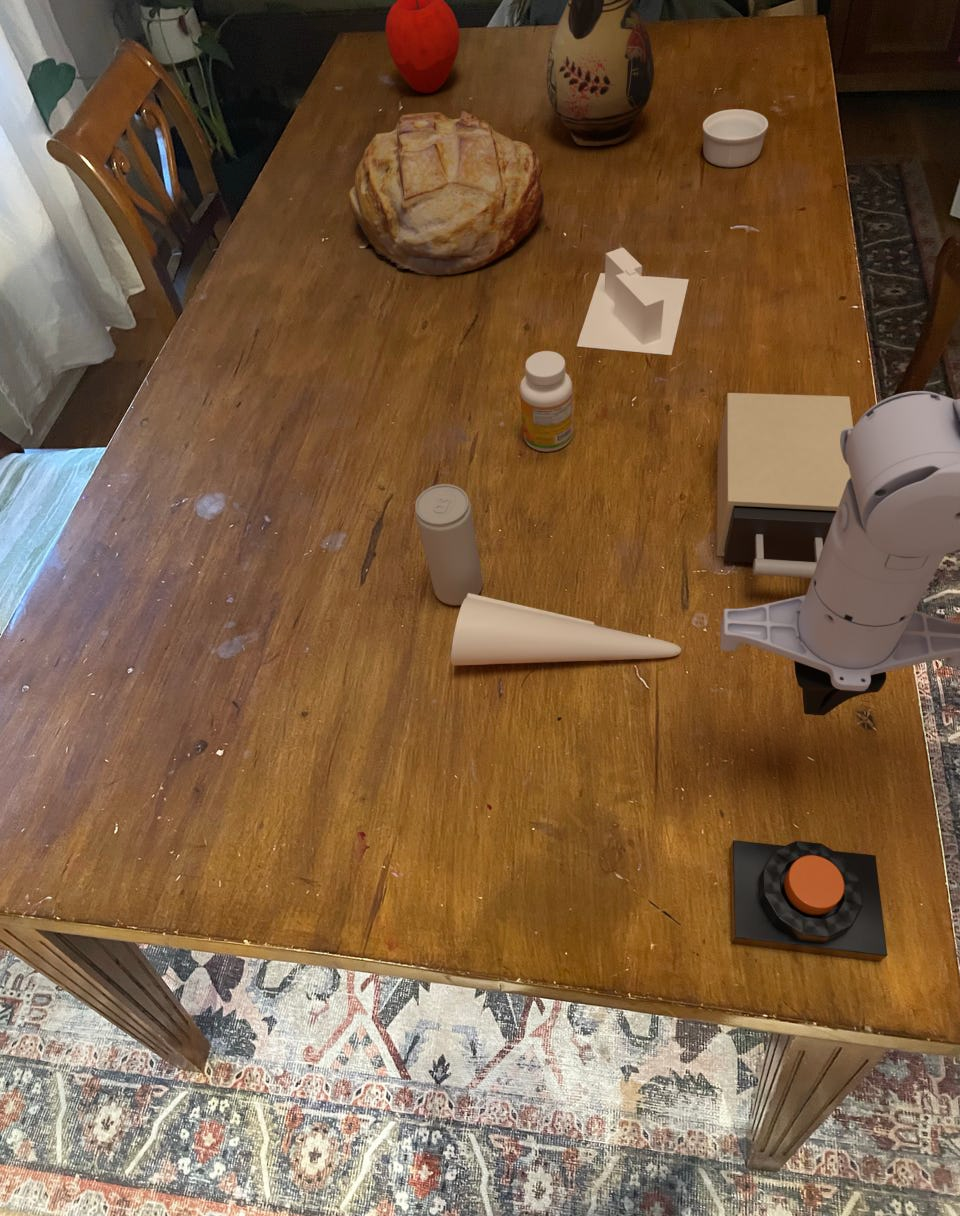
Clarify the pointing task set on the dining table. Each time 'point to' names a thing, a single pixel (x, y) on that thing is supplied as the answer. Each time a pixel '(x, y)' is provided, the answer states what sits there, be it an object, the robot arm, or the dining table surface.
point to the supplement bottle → (546, 402)
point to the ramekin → (733, 137)
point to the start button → (814, 885)
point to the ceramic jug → (600, 70)
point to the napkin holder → (633, 308)
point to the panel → (781, 925)
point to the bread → (445, 193)
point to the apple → (422, 42)
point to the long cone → (541, 637)
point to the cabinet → (780, 454)
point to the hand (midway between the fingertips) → (813, 702)
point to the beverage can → (449, 542)
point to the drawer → (778, 539)
